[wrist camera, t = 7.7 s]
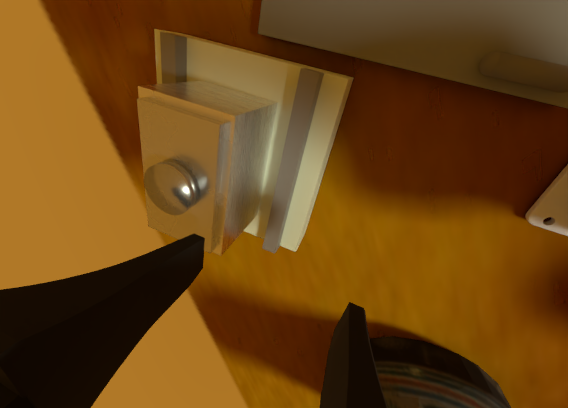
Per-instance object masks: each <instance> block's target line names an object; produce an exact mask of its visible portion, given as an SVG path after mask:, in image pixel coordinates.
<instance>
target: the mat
mask: <svg viewBox="0 0 568 408" xmlns="http://www.w3.org/2000/svg"><path fill="white" fill-rule="evenodd" d="M258 34H261V35H265V36H269V37H273V38H277V39H282V40H286V41H290V42H294V43H298V44H302V45H306V46H311V47H315V48H319V49H323V50H327V51H331V52H336V53H340V54H344V55H348V56H352V57H356V58H360V59H365V60H369V61H373V62H377V63H381V64H385V65H389V66H394V67H398V68H402V69H406V70H410V71H414V72H418V73H423V74H427V75H431V76H435V77H439V78H443V79H447V80H452V81H456V82H460V83H464V84H468V85H472V86H476V87H481V88H485V89H489V90H493V91H497V92H501V93H505V94H510V95H514V96H518V97H522V98H526V99H530V100H535V101H539V102H543V103H547V104H551V105H555V106H559V107H564V108H568V0H262V3H261V11H260V19H259V27H258Z"/></svg>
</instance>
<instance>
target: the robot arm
mask: <svg viewBox="0 0 568 408" xmlns="http://www.w3.org/2000/svg"><path fill="white" fill-rule="evenodd" d="M548 217H552V218H551V220H549V221H547V222H543V220H544V219H546V218H548ZM525 218H526V219H527V221H528V222H529V223H530V224H532V225H535V226H538V227H541V228H544V229H547V230H550V231H553V232H557V233H560V234H563V235H566V236H568V164H567V165H566V167H565V168H564V169H563V170H562V171H561V173H560V174H559V175H558V176H557V177H556V178H555V180H554V181H553V182H552V183H551V184H550V186H549V187H548V188H547V189H546V190H545V192H544V193H543V194H542V195H541V196H540V197H539V199H538V200H537V201H536V202H535V203H534V205H533V206H532V207H531V208H530V209H529V210H528V212H527V213H526V215H525ZM204 243H205V238H204V237H201V236H199V235H197V234H195V233H194V234H191V235H189V236H187V237H184V238H182V239H180V240H177V241H175V242H173V243H171V244H168V245H166V246H164V247H161V248H159V249H156V250H154V251H152V252H149V253H147V254H145V255H142V256H139V257H136V258H134V259H131V260H129V261H126V262H123V263H120V264H117V265H114V266H111V267H108V268H104V269H101V270H98V271H94V272H90V273H86V274H83V275H78V276H74V277H70V278H66V279H61V280H57V281H52V282H47V283H42V284H36V285H30V286H24V287H18V288H11V289H3V290H0V408H91V406H92V405H93V403H94V402H95V401H96V399H97V398H98V396H99V395H100V393H101V392H102V391H103V389H104V388H105V386H106V385H107V384H108V382H109V381H110V379H111V378H112V377H113V375H114V374H115V372H116V371H117V370H118V368H119V367H120V366H121V364H122V363H123V362H124V360H125V359H126V358H127V356H128V355H129V354H130V353H131V351H132V350H133V349H134V347H135V346H136V345H137V343H138V342H139V341H140V340H141V339H142V337H143V336H144V335H145V333H146V332H147V331H148V330H149V328H151V326H152V325H153V324H154V323H155V322H156V321H157V320H158V318H160V317H161V316H162V314H163V313H164V312H165V311H166V310H167V309H168V308H169V307H170V306H171V305H172V304H173V303H174V302H175V301H176V300H177V299H178V298H179V297H180V296H181V294H182V293H183V292H184V291H185V290H186V289H187V288H188V287H189V286H190V285H191V283H192V282H193V281H194V279H195V278H196V277H197V275H198V274H199V273H200V271H201V270H202V268H203V258H204ZM320 408H388V407H387V404H386V401H385V397H384V394H383V391H382V388H381V384H380V381H379V377H378V373H377V370H376V366H375V362H374V357H373V353H372V349H371V344H370V339H369V334H368V329H367V323H366V315H365V310H364V308H362V307H360V306H357V305H355V304H353V303H350V302H349V304H348V306H347V308H346V310H345V311H344V313H343V315H342V317H341V319H340V321H339V322H338V324H337V326H336V328H335V330H334V333H333V337H332V341H331V345H330V348H329V352H328V358H327V364H326V370H325V377H324V383H323V390H322V396H321V403H320Z"/></svg>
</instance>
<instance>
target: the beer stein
mask: <svg viewBox="0 0 568 408" xmlns="http://www.w3.org/2000/svg"><path fill="white" fill-rule="evenodd" d="M370 344H371V349H372V353H373V357H374V362H375V366H376V370H377V373H378V377H379V381H380V384H381V388H382V391H383V394H384V397H385V401H386V404H387V407H388V408H511V407H510V405H509V403H508V401H507V399H506V398H505V396H504V394H503V392H502V390H501V388H500V387H499V385H498V383H497V382H496V381H494V380H493V379H492V378H491V377H490V376H489V375H488V374H487V373H486V372H484V371H483V370H482V369H481V368H480V367H479V366H478V365H476V364H474V363H473V362H471V361H469V360H467V359H466V358H464V357H462V356H461V355H459V354H456V353H453V352H451V351H448V350H445V349H443V348H440V347H437V346H435V345H432V344H429V343H427V342H424V341H418V340H411V339H405V338H399V337H393V336H391V337H381V338H372V339H370ZM322 390H323V389H322ZM321 396H322V392H321ZM320 403H321V400H320Z"/></svg>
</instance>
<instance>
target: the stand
mask: <svg viewBox="0 0 568 408" xmlns="http://www.w3.org/2000/svg"><path fill="white" fill-rule="evenodd" d="M154 35H155V55H156V75H157V84H167V83H180V82H193V81H206V82H210V83H213V84H216V85H220V86H223V87H227V88H230V89H234V90H237V91H240V92H244V93H247V94H251V95H254V96H258V97H261V98H265V99H268V100H271V101H275V102H278V105H277V111H276V116H275V122H274V127H273V133H272V138H271V144H270V149H269V155H268V160H267V166H266V171H265V177H264V182H263V188H262V193H261V199H260V204H259V210H258V215H257V216H256V217H255V218H254V219H253V220H252V222H251V223H250V224H249V225H248V226H247V227H246V228H245V229H244V231H245V232H248V233H250V234H253V235H255V236H258V237H260V238H262V239H264V243H263V249H265V250H268V251H270V252H273V253H275V252H276V251H277V249H278V248H279V246H282V247H285V248H287V249H290V250H292V251H294V252H296V250H297V248H298V246H299V244H300V242H301V240H302V238H303V236H304V234H305V231H306V228H307V225H308V222H309V219H310V216H311V212H312V209H313V206H314V203H315V200H316V196H317V193H318V190H319V187H320V184H321V181H322V177H323V174H324V171H325V168H326V165H327V161H328V158H329V155H330V152H331V149H332V146H333V142H334V139H335V136H336V133H337V130H338V126H339V123H340V120H341V117H342V114H343V111H344V107H345V104H346V101H347V98H348V95H349V92H350V88H351V85H352V82H353V79H354V77H350V76H347V75H343V74H339V73H335V72H331V71H327V70H323V69H319V68H315V67H311V66H308V65H304V64H300V63H296V62H292V61H288V60H284V59H280V58H276V57H272V56H269V55H265V54H261V53H257V52H253V51H249V50H245V49H241V48H237V47H234V46H230V45H226V44H222V43H218V42H214V41H210V40H206V39H202V38H198V37H195V36H191V35H187V34H183V33H177V32H171V31H165V30H158V29H154Z"/></svg>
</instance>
